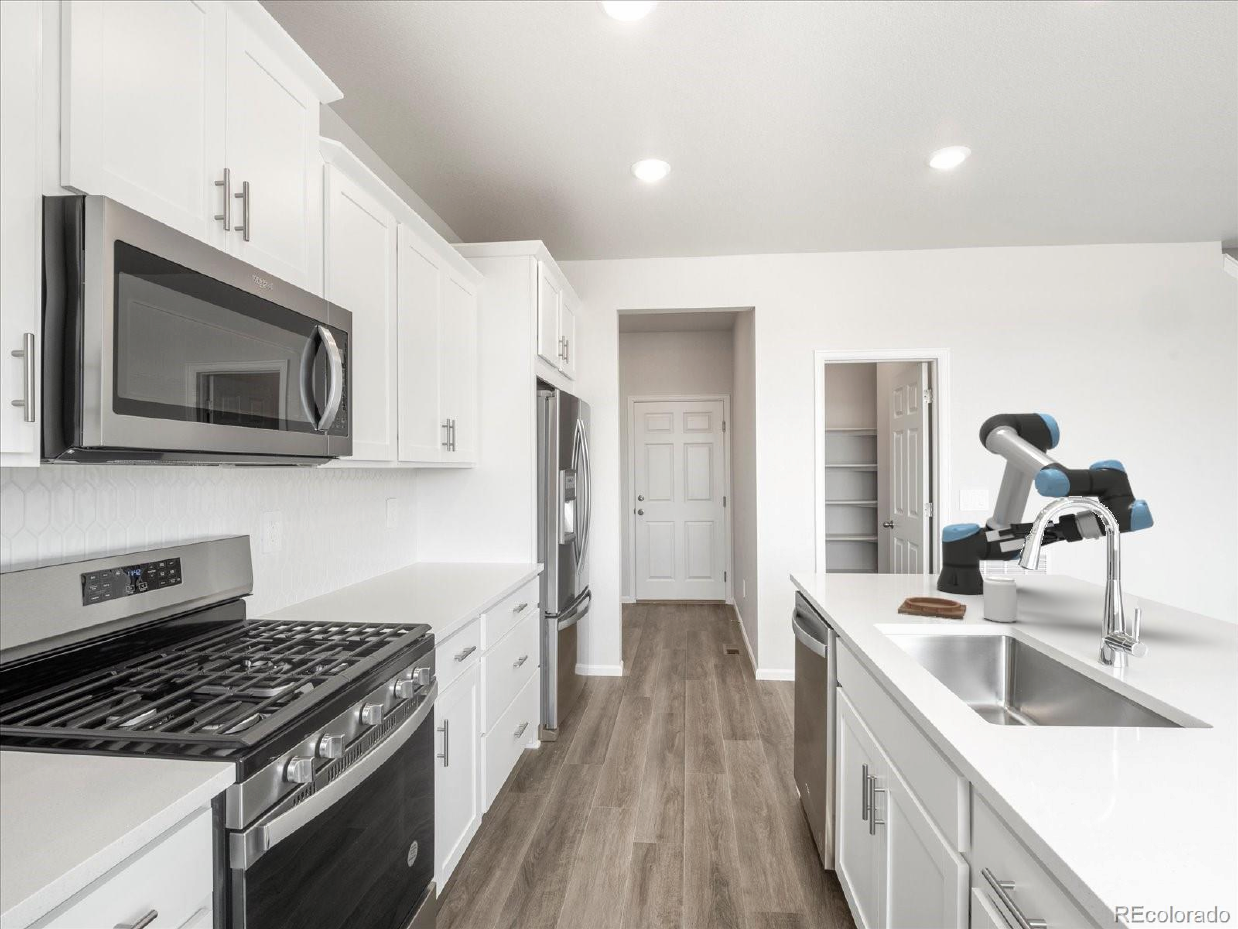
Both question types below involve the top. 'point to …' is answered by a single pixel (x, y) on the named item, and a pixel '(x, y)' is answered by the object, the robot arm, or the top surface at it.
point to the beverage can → (1000, 598)
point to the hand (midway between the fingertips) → (994, 542)
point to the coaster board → (933, 607)
